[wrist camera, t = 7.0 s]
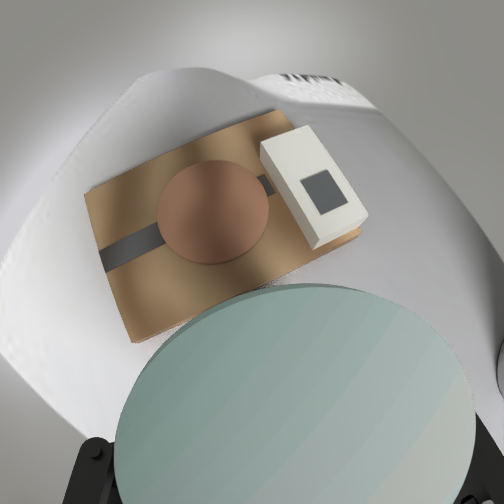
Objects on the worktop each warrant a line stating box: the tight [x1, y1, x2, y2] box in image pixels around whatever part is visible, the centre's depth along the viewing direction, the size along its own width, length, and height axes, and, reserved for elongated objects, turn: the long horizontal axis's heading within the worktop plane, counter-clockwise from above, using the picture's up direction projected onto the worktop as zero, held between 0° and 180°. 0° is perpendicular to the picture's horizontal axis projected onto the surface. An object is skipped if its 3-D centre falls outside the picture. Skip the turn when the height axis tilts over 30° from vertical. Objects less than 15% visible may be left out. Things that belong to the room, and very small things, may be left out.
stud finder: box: [260, 125, 369, 250], centre depth 24 cm, size 9×4×3 cm, turn 26°
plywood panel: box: [84, 109, 362, 343], centre depth 25 cm, size 20×14×2 cm
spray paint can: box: [114, 283, 476, 504], centre depth 13 cm, size 6×6×20 cm
